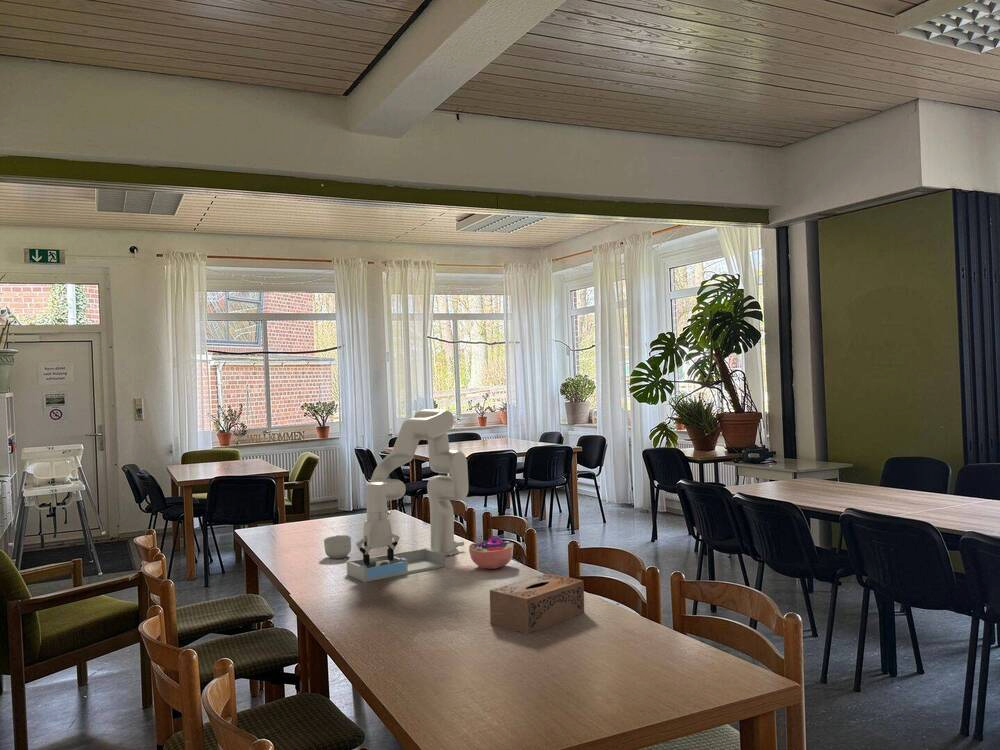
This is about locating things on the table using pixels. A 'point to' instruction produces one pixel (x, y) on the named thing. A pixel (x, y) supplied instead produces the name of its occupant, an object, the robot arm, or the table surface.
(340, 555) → the teacup
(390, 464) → the robot arm
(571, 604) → the tissue box cover
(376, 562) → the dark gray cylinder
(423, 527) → the table surface
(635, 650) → the table surface
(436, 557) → the divided grey tray
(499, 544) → the cell model
